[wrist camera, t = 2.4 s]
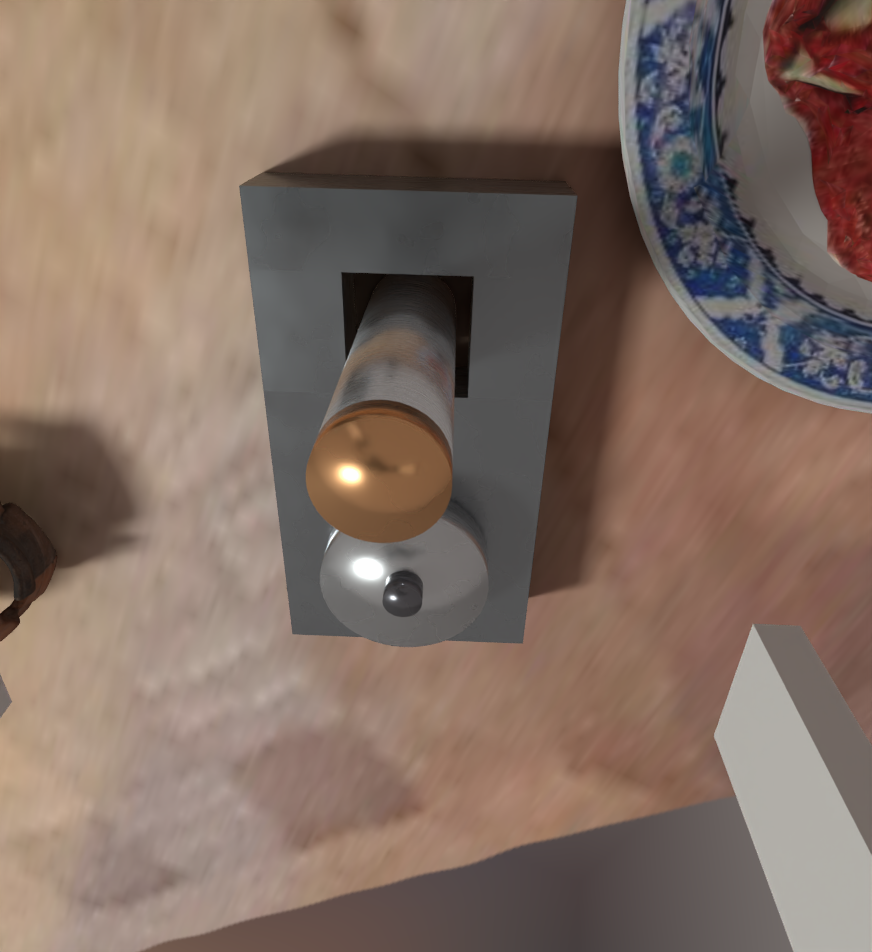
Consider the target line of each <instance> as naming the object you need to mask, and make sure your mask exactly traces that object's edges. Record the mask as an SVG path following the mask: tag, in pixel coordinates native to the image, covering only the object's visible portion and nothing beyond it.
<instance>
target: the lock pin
mask: <svg viewBox="0 0 872 952" xmlns="http://www.w3.org/2000/svg"><path fill="white" fill-rule="evenodd" d="M455 349H456V303H455V299H454V296H453V294H452V292H451V290H450V288H449V287H448V286H447V284H446V283H445V282H444V281H443V280H442V279H441V278H440V277H438V276H437V275H413V274H388V275H387V276H385V277H384V278H383V279H382V280H381V281H380V282H379V283H378V284H377V286H376V287H375V289H374V291H373V293H372V295H371V298H370V300H369V303H368V306H367V308H366V311H365V313H364V316H363V319H362V321H361V324H360V327H359V329H358V332H357V334H356V337H355V340H354V342H353V345H352V347H351V350H350V353H349V355H348V358H347V360H346V363H345V366H344V368H343V371H342V374H341V376H340V379H339V381H338V384H337V387H336V389H335V392H334V394H333V397H332V400H331V402H330V405H329V407H328V410H327V413H326V415H325V418H324V420H323V423H322V426H321V428H320V431H319V434H318V436H317V439H316V441H315V444H314V447H313V449H312V452H311V454H310V457H309V460H308V463H307V468H306V486H307V491H308V494H309V497H310V499H311V501H312V503H313V505H314V507H315V508H316V510H317V511H318V513H319V514H320V515H321V516H322V517H323V518H324V519H325V520H326V521H327V522H328V523H329V524H330V525H331V526H333V527H334V528H336V529H337V530H339V531H340V532H342V533H344V534H346V535H348V536H351V537H353V538H356V539H359V540H363V541H368V542H374V543H393V542H400V541H404V540H408V539H411V538H413V537H416V536H418V535H420V534H422V533H424V532H425V531H427V530H428V529H430V528H431V527H432V526H433V525H434V524H435V523H436V522H437V521H438V520H439V519H440V518H441V517H442V515H443V513H444V512H445V510H446V508H447V506H448V504H449V501H450V498H451V493H452V474H453V432H454V391H455Z"/></svg>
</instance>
